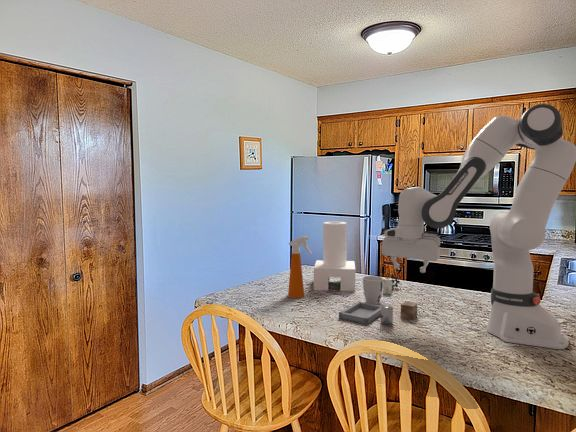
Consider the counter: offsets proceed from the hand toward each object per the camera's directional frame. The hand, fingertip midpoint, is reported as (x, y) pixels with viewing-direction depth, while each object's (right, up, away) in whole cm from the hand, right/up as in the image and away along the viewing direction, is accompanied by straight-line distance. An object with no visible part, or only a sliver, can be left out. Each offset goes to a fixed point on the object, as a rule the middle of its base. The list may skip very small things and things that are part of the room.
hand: (409, 270), depth 142 cm
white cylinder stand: (-21, -14, +47) cm, 53 cm away
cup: (-9, -16, +19) cm, 27 cm away
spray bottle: (-39, -15, +28) cm, 50 cm away
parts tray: (-16, -17, +3) cm, 24 cm away
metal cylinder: (-10, -18, -5) cm, 21 cm away
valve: (+2, -15, +36) cm, 39 cm away
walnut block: (0, -17, +1) cm, 17 cm away
